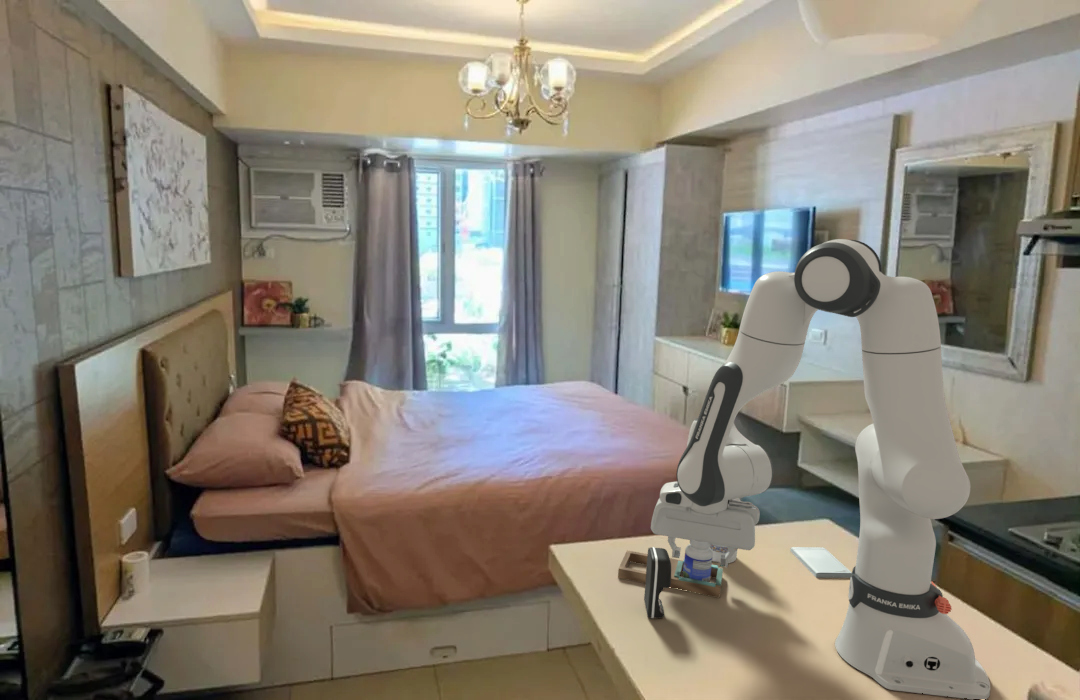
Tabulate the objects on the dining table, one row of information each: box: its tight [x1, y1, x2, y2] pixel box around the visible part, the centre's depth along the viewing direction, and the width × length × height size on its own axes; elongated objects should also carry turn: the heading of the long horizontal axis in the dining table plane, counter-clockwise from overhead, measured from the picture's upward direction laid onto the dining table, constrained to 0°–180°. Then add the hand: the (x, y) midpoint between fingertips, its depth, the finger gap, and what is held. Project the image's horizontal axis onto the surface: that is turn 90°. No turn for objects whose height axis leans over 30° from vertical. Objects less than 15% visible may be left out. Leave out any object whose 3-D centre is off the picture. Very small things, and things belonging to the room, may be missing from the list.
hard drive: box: [789, 546, 852, 579], centre depth 148 cm, size 2×8×12 cm
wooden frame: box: [617, 549, 724, 599], centre depth 139 cm, size 20×9×2 cm, turn 72°
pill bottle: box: [682, 540, 713, 582], centre depth 136 cm, size 5×5×10 cm
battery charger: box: [643, 546, 671, 619], centre depth 125 cm, size 7×4×11 cm, turn 177°
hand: (699, 561), depth 137 cm, fingers open, 8 cm apart
